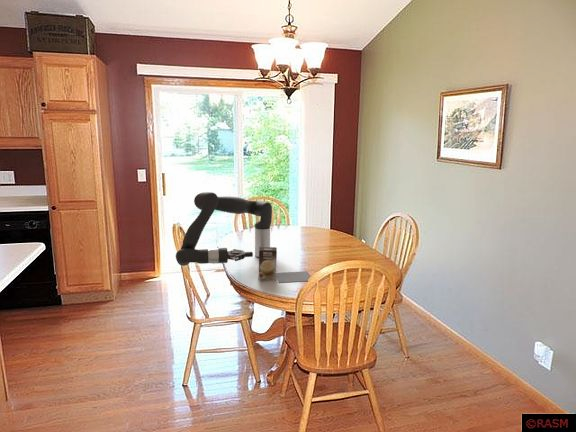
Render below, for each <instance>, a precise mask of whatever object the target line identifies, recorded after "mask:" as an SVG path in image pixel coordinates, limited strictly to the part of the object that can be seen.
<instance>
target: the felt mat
mask: <svg viewBox="0 0 576 432" xmlns="http://www.w3.org/2000/svg"><path fill="white" fill-rule="evenodd" d="M310 277H312V275H311V274H310V273H309V271H308V270H305V271H302V270H301V271H287V272H276V281H277V282H278V284H283V283H285V284H286V283H299V282H300V283H301V282H309V281H308V279H309V278H310Z"/></svg>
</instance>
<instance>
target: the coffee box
mask: <svg viewBox="0 0 576 432" xmlns="http://www.w3.org/2000/svg"><path fill="white" fill-rule="evenodd" d="M277 250H278V248H277V247H276V246H275V247H272V246H270V247H259V257H258V281H265V282H266V281H270V282H271V281H273V282H274V281H277V278H276V273H277V254H278V251H277Z"/></svg>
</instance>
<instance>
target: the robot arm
mask: <svg viewBox="0 0 576 432" xmlns="http://www.w3.org/2000/svg"><path fill="white" fill-rule="evenodd" d="M193 203H194V205H195V207H196V208H197V209H198V210H200V212H199V214H198V216H197V217H196V218H195V219H194V220H193V221H192V222H191V223H190V225H189V226H188V228H187V230H186V232H185V234H184V236H183V240H182V245H181V247H180V249H179V250H177V252H176V253H175V259H176V262H177V264H178V265H179V266H182V267H185V266H188V265H189V264H190V263H197V264H199V265H200V264H201V265H203V264H205V265H206V264H211V265H212V264H215V265H216V264H227V263H228V262H229V260H231V261H235V262H237V261H241V260H244V259H245V258H252V257H253V256H254V257H257V258H259V247H271V225H272V216H273V206H272V203H270V202H269V201H264V200H247V199H246V198H242V197H237V196H231V195H229V196H218V195H217V194H216V193H215V192H212V191H211V192H208V191H206V192H199V193H198V194H196V195H195V197H194V200H193ZM215 211H219V212H223V213H228V214H234V215H242V214H250V215H254V216H257V217H260V219H259V221H256V222H255V223H254V253H253V251H244V250H242V249H235V248H234V249H232V250H228V248H227V247H215V248H213V247H212V248H205V249H196V246H197V244H198V243H199V240H200V238H201V236H202V233H203V230H204V229H205V227H206V225H207V224H208V222H209V221H210V219H211V217H212V215H213V214H214V212H215Z"/></svg>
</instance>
